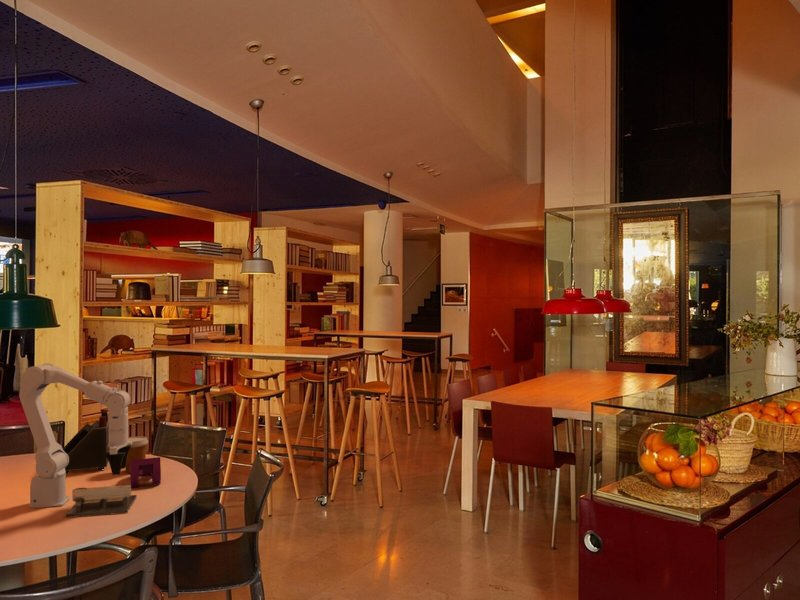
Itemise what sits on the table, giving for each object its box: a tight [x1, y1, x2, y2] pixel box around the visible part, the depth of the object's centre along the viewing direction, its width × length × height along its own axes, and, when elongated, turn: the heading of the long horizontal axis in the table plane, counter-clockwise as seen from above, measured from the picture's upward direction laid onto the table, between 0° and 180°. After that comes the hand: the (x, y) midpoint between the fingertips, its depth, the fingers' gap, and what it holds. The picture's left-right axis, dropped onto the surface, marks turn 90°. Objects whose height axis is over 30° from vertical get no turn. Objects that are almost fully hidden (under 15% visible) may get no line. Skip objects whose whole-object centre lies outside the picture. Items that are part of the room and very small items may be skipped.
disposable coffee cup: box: [124, 436, 149, 474], centre depth 230 cm, size 10×10×12 cm
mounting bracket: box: [129, 456, 162, 488], centre depth 217 cm, size 9×8×18 cm
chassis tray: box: [65, 494, 137, 518], centre depth 189 cm, size 17×14×3 cm
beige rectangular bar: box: [71, 484, 132, 502], centre depth 189 cm, size 16×4×3 cm, turn 103°
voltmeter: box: [62, 411, 110, 474], centre depth 235 cm, size 16×16×20 cm
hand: (118, 471), depth 195 cm, fingers open, 6 cm apart
